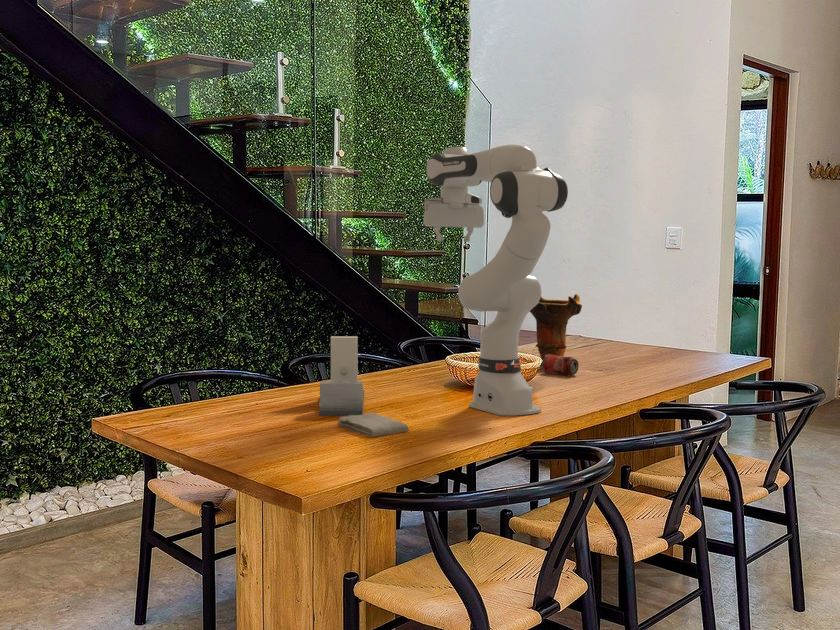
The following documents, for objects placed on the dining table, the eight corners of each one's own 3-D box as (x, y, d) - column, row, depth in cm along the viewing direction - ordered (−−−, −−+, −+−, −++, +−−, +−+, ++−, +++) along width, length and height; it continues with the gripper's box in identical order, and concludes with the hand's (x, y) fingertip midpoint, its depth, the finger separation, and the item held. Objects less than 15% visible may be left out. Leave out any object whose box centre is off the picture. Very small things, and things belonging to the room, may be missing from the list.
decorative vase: (582, 364, 338) (580, 291, 336) (522, 365, 343) (519, 293, 341) (584, 357, 359) (582, 288, 356) (526, 358, 363) (524, 289, 361)
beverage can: (570, 377, 313) (570, 358, 312) (541, 373, 321) (541, 355, 320) (580, 375, 318) (581, 356, 318) (552, 371, 326) (552, 353, 325)
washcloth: (371, 420, 244) (371, 409, 243) (410, 433, 229) (410, 421, 229) (334, 426, 236) (334, 415, 236) (372, 439, 222) (372, 427, 222)
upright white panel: (324, 390, 274) (324, 335, 272) (357, 390, 274) (357, 335, 273) (322, 395, 266) (322, 338, 264) (357, 395, 266) (357, 338, 265)
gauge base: (324, 395, 277) (323, 368, 276) (364, 395, 277) (364, 368, 276) (317, 415, 247) (317, 385, 246) (362, 415, 247) (362, 385, 247)
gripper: (428, 196, 279) (427, 240, 280) (486, 198, 287) (485, 241, 288) (420, 197, 285) (420, 240, 286) (478, 199, 293) (477, 241, 294)
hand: (453, 241), depth 287 cm, fingers open, 8 cm apart
